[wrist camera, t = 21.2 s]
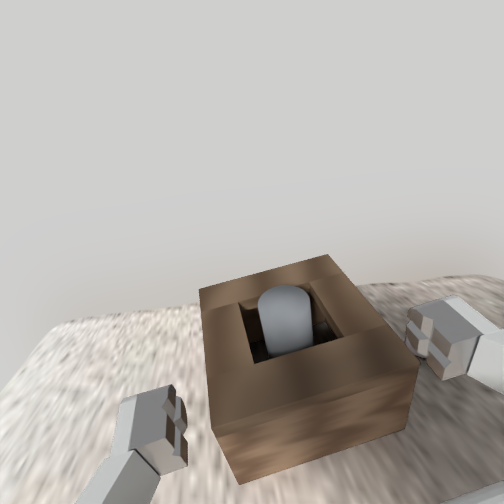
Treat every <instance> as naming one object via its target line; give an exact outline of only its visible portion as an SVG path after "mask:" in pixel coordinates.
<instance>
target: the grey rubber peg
mask: <svg viewBox="0 0 504 504" xmlns="http://www.w3.org/2000/svg"><path fill="white" fill-rule="evenodd" d="M258 310H259V314H260V319H261V324H262V328H263V333H264V337H265V342H266V347H267V351H268V356H269V360H270V359H273V358H276V357H280V356H283V355H286V354H290V353H293V352H296V351H300V350H303V349H306V348H310V347H313V346H314V344H313V332H312V320H311V308H310V299H309V296H308V294H307V293H306V292H305V291H304V290H303V289H301V288H299V287H296V286H292V285H281V286H276V287H273V288H271V289H269V290H267V291H266V292H264V293H263V294H262V295H261V297H260V298H259V301H258Z"/></svg>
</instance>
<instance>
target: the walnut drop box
mask: <svg viewBox="0 0 504 504" xmlns="http://www.w3.org/2000/svg"><path fill="white" fill-rule="evenodd" d="M281 285H292V286H296V287H299V288H301V289H303V290H304V291H305V292H306V293H307V294H308V296H309V299H310V308H311V320H312V325H314V324H318V323H321V322H326V323H327V325H328V327H329V328H330V330H331V332H332V333H333V335H334V336H335V338H336V340H333V341H330V342H326V343H323V344H320V345H316V346H313V347H310V348H306V349H303V350H300V351H296V352H293V353H290V354H286V355H283V356H280V357H276V358H273V359H270V360H267V361H263V362H260V363H257V364H254V362H253V358H252V354H251V350H250V346H249V344H250V343H253V342H257V341H260V340H263V339H265V337H264V333H263V328H262V324H261V319H260V314H259V310H258V301H259V298H260V297H261V295H262V294H263V293H264V292H266V291H267V290H269V289H271V288H273V287H276V286H281ZM199 296H200V308H201V319H202V330H203V341H204V352H205V363H206V374H207V385H208V397H209V408H210V419H211V429H212V431H213V433H214V435H215V437H216V439H217V441H218V443H219V445H220V447H221V449H222V451H223V453H224V455H225V457H226V459H227V461H228V463H229V465H230V468H231V470H232V472H233V474H234V476H235V478H236V480H237V482H238V484H239V485H241V484H244V483H247V482H250V481H253V480H256V479H258V478H261V477H264V476H267V475H270V474H273V473H276V472H279V471H282V470H285V469H288V468H291V467H294V466H297V465H300V464H303V463H306V462H309V461H312V460H315V459H317V458H320V457H323V456H326V455H329V454H332V453H335V452H338V451H341V450H344V449H347V448H350V447H353V446H356V445H359V444H362V443H365V442H368V441H371V440H374V439H376V438H379V437H382V436H385V435H388V434H391V433H394V432H397V431H400V430H403V429H405V426H406V421H407V417H408V413H409V408H410V404H411V400H412V395H413V391H414V387H415V382H416V378H417V373H418V369H419V365H420V361H419V360H418V359H417V358H416V357H415V355H414V354H413V353H412V352H411V351H410V350H409V348H408V347H407V346H406V345H405V344H404V343H403V341H402V340H401V339H400V338H399V337H398V336H397V334H396V333H395V332H394V331H393V330H392V329H391V327H390V326H389V325H388V324H387V323H386V322H385V320H384V319H383V318H382V317H381V316H380V315H379V313H378V312H377V311H376V310H375V309H374V308H373V306H372V305H371V304H370V303H369V302H368V301H367V299H366V298H365V297H364V296H363V295H362V294H361V292H360V291H359V290H358V289H357V288H356V287H355V285H354V284H353V283H352V282H351V281H350V280H349V278H347V276H346V275H345V274H344V273H343V272H342V270H341V269H340V268H339V267H338V266H337V264H336V263H335V262H334V261H333V260H332V259H331V258H330V256H329V255H328V254H327V255H323V256H319V257H315V258H312V259H308V260H304V261H301V262H297V263H293V264H289V265H286V266H282V267H278V268H275V269H271V270H267V271H264V272H260V273H256V274H253V275H249V276H245V277H241V278H238V279H234V280H230V281H227V282H223V283H220V284H216V285H212V286H209V287H205V288H201V289H199Z"/></svg>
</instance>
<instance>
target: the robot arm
mask: <svg viewBox="0 0 504 504" xmlns="http://www.w3.org/2000/svg"><path fill="white" fill-rule="evenodd" d="M408 317H409V318H410V321H409V323H408V324H407V325H406V334H407V337H408V340H409V342H410V344H411V345H412V347H413V348H414V349H415V350H416V351H417V352H418V353H420V354H422V355H424V356H426V360H427V364H428V365H429V367H430V368H431V369H432V370H433V371H434V372H435V374H436V375H437V376H438V377H439V378H440V379H441V380H442V381H443V380H447V379H450V378H453V377H457V376H460V375H463V374H467V373H468V374H467V375H468V376H470V377H472V378H474V379H475V380H477V381H479V382H481V383H483V384H485V385H486V386H488V387H490V388H492V389H494V390H495V391H497V392H499V393H501V394H503V395H504V328H503V329H499V328H498V327H497V326H496V325H494V324H493V323H492V322H490V321H489V320H488V319H487V318H485V317H484V316H483V315H481V314H480V313H479V312H478V311H476V310H475V309H474V308H472V307H471V306H470V305H469V304H467V303H466V302H465V301H464V300H462V299H461V298H460V297H458V296H456V295H450V296H447V297H444V298H441V299H438V300H434V301H431V302H428V303H425V304H422V305H419V306H416V307H413V308H410V310H409V311H408ZM186 429H187V414H186V408H185V405H184V403H183V401H182V399H181V398H180V397H177V396H176V389H175V388H174V386H173V385H172V384H171V385H168V386H164V387H161V388H157V389H154V390H151V391H147V392H144V393H140V394H137V395H134V396H130V397H127V398H124V399H123V400H122V402H121V404H120V407H119V412H118V417H117V423H116V428H115V433H114V438H113V443H112V448H111V453H110V457H109V458H106V459H104V461H103V462H102V464H101V465H100V467H99V468H98V470H97V471H96V473H95V474H94V476H93V477H92V479H91V480H90V482H89V483H88V485H87V486H86V488H85V489H84V491H83V492H82V494H81V495H80V497H79V498H78V500H77V501H76V503H75V504H150V502H151V500H152V497H153V495H154V493H155V490H156V488H157V486H158V484H159V481H160V479H161V477H160V476H162V475H165V474H168V473H171V472H173V471H176V470H179V469H181V468H184V467H187V466H188V442H187V441H186V439H185V438H184V436H183V435H184V433H185V431H186ZM439 504H504V480H503V481H500V482H497V483H494V484H492V485H489V486H486V487H483V488H481V489H478V490H475V491H472V492H470V493H467V494H464V495H461V496H459V497H456V498H453V499H450V500H448V501H445V502H442V503H439Z"/></svg>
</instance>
